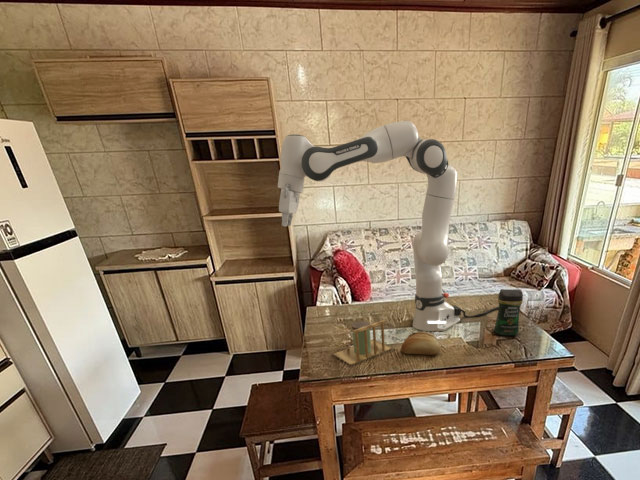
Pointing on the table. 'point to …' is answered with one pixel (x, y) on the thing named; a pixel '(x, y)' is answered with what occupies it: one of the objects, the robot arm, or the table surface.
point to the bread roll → (421, 344)
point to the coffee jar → (508, 312)
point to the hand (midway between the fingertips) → (286, 225)
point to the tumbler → (361, 337)
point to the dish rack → (376, 346)
